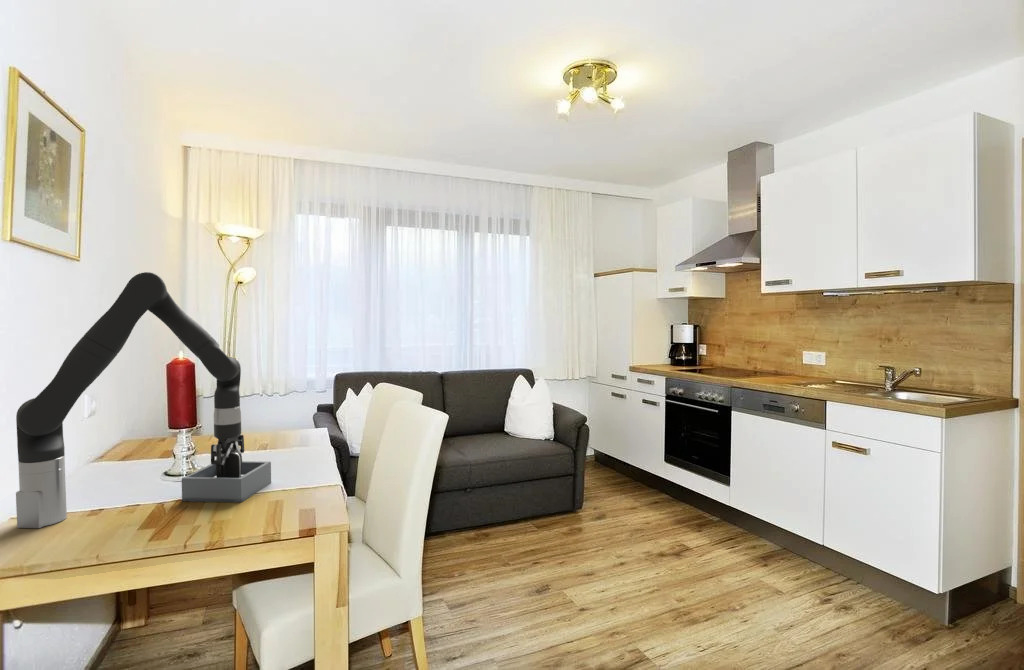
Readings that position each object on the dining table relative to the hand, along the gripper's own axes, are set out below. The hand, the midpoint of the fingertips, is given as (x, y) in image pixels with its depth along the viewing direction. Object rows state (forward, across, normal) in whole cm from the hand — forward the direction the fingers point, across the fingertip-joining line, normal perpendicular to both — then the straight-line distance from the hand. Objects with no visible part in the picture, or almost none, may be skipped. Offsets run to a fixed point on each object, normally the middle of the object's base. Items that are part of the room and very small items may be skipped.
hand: (228, 472), depth 164 cm
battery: (+5, +1, 0) cm, 5 cm away
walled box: (+6, 0, 0) cm, 6 cm away
